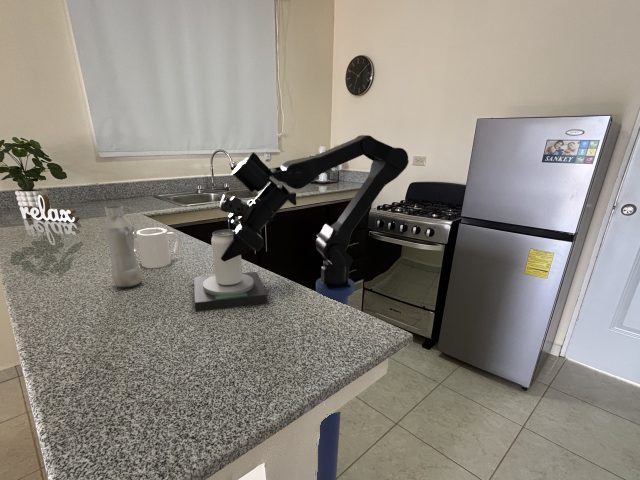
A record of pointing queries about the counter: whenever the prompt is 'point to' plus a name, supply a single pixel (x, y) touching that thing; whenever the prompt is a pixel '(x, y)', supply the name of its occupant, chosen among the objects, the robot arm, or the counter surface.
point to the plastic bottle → (121, 247)
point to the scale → (228, 292)
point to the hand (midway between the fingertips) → (221, 255)
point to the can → (229, 269)
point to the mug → (156, 247)
